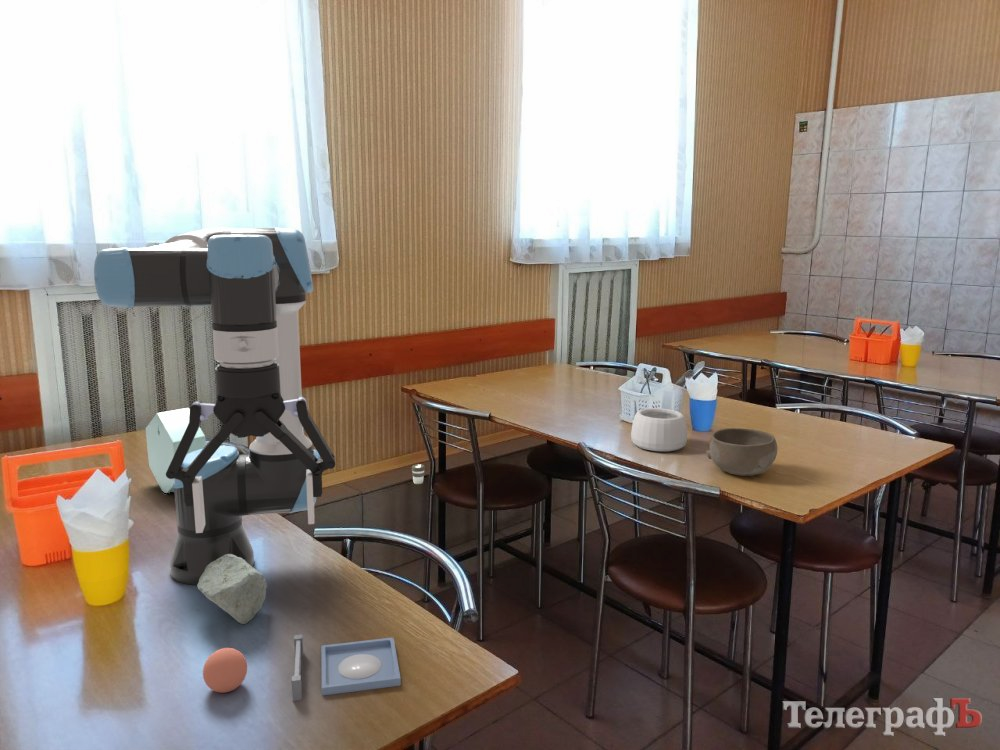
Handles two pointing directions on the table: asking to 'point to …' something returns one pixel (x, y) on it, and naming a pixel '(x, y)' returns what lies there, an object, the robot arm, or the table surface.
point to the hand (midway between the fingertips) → (256, 524)
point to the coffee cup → (418, 473)
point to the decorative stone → (234, 587)
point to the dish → (359, 666)
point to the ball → (225, 670)
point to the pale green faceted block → (168, 442)
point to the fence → (297, 668)
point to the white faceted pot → (659, 429)
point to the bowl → (742, 451)
